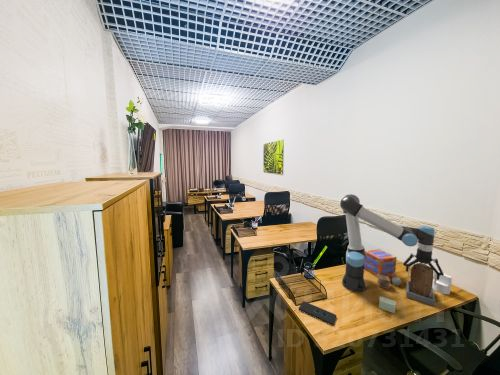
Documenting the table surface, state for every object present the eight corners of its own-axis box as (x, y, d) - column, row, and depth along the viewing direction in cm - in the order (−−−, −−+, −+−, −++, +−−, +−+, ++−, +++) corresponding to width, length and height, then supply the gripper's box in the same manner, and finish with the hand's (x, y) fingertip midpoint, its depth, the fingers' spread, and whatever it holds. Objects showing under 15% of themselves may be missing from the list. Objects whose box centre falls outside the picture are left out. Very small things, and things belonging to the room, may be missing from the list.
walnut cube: (379, 286, 143) (380, 279, 142) (377, 282, 148) (378, 274, 147) (389, 288, 140) (390, 281, 140) (387, 284, 146) (388, 276, 145)
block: (432, 297, 130) (435, 268, 128) (424, 299, 128) (427, 269, 126) (414, 287, 140) (417, 260, 138) (406, 289, 138) (409, 261, 136)
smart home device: (333, 323, 108) (298, 308, 120) (332, 326, 108) (298, 310, 120) (336, 314, 115) (303, 300, 126) (336, 317, 115) (303, 303, 127)
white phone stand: (453, 292, 136) (455, 276, 135) (444, 295, 133) (446, 278, 132) (437, 285, 145) (439, 269, 143) (429, 287, 142) (431, 271, 140)
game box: (379, 278, 152) (381, 259, 151) (363, 268, 167) (364, 250, 166) (395, 275, 157) (397, 257, 155) (377, 266, 171) (379, 248, 170)
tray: (406, 296, 132) (406, 291, 131) (406, 284, 145) (406, 280, 145) (434, 306, 123) (435, 301, 123) (432, 292, 136) (432, 287, 136)
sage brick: (378, 307, 122) (379, 300, 121) (379, 303, 126) (380, 296, 125) (394, 313, 117) (395, 306, 117) (395, 308, 121) (395, 301, 121)
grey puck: (401, 286, 143) (402, 281, 142) (394, 285, 144) (395, 281, 143) (397, 281, 148) (398, 276, 147) (390, 280, 149) (391, 276, 148)
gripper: (400, 246, 135) (397, 275, 138) (452, 257, 119) (448, 290, 122) (401, 242, 141) (398, 271, 143) (450, 252, 125) (446, 284, 128)
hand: (421, 279), depth 133 cm, fingers open, 13 cm apart
